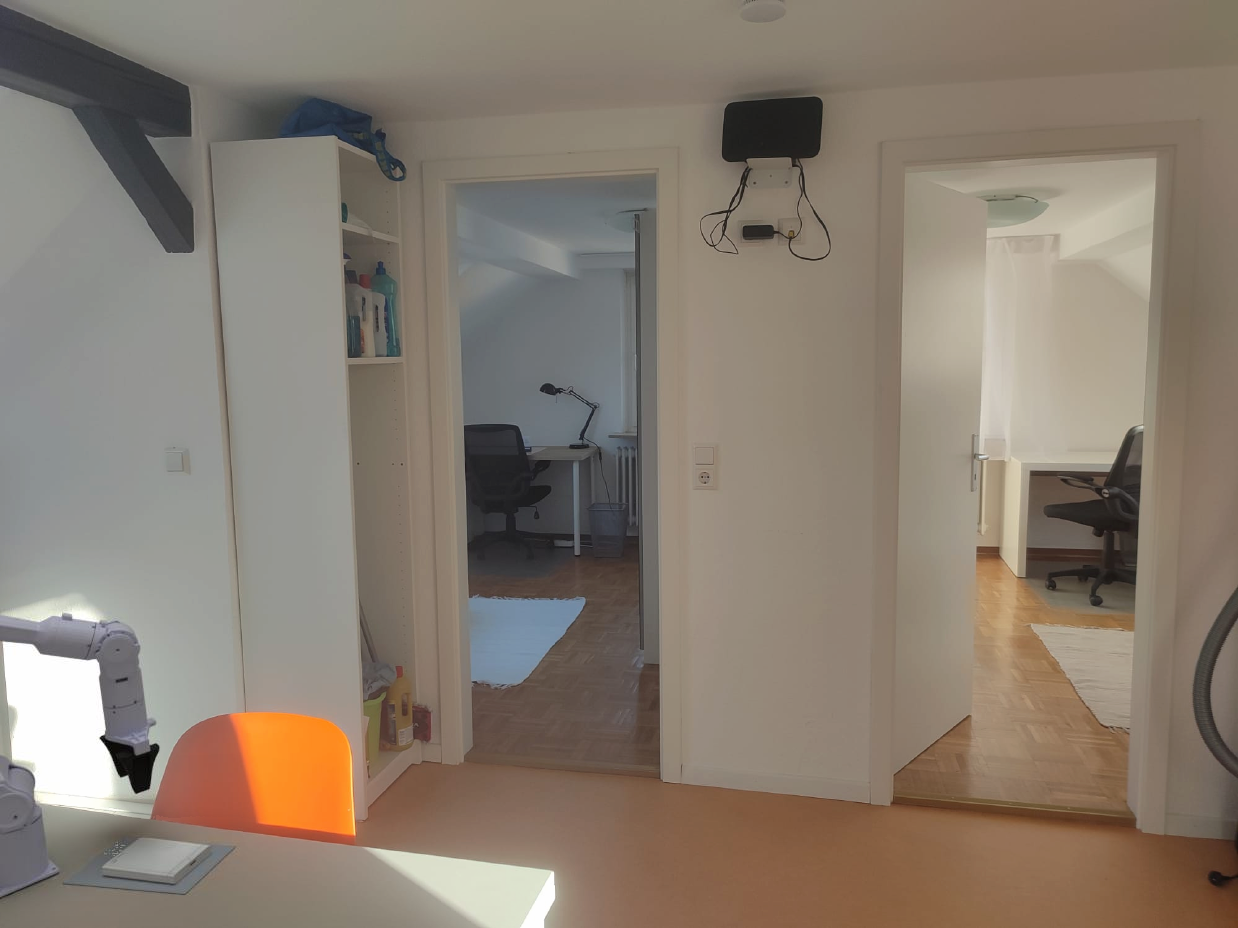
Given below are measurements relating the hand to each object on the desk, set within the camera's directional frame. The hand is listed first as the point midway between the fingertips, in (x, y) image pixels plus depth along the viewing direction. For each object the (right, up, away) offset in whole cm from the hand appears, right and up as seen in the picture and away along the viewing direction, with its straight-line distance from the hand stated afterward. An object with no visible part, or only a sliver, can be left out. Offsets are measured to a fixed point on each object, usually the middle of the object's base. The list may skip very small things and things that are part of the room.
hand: (134, 782), depth 138 cm
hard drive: (+7, -10, -6) cm, 14 cm away
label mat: (+6, -10, -6) cm, 13 cm away
